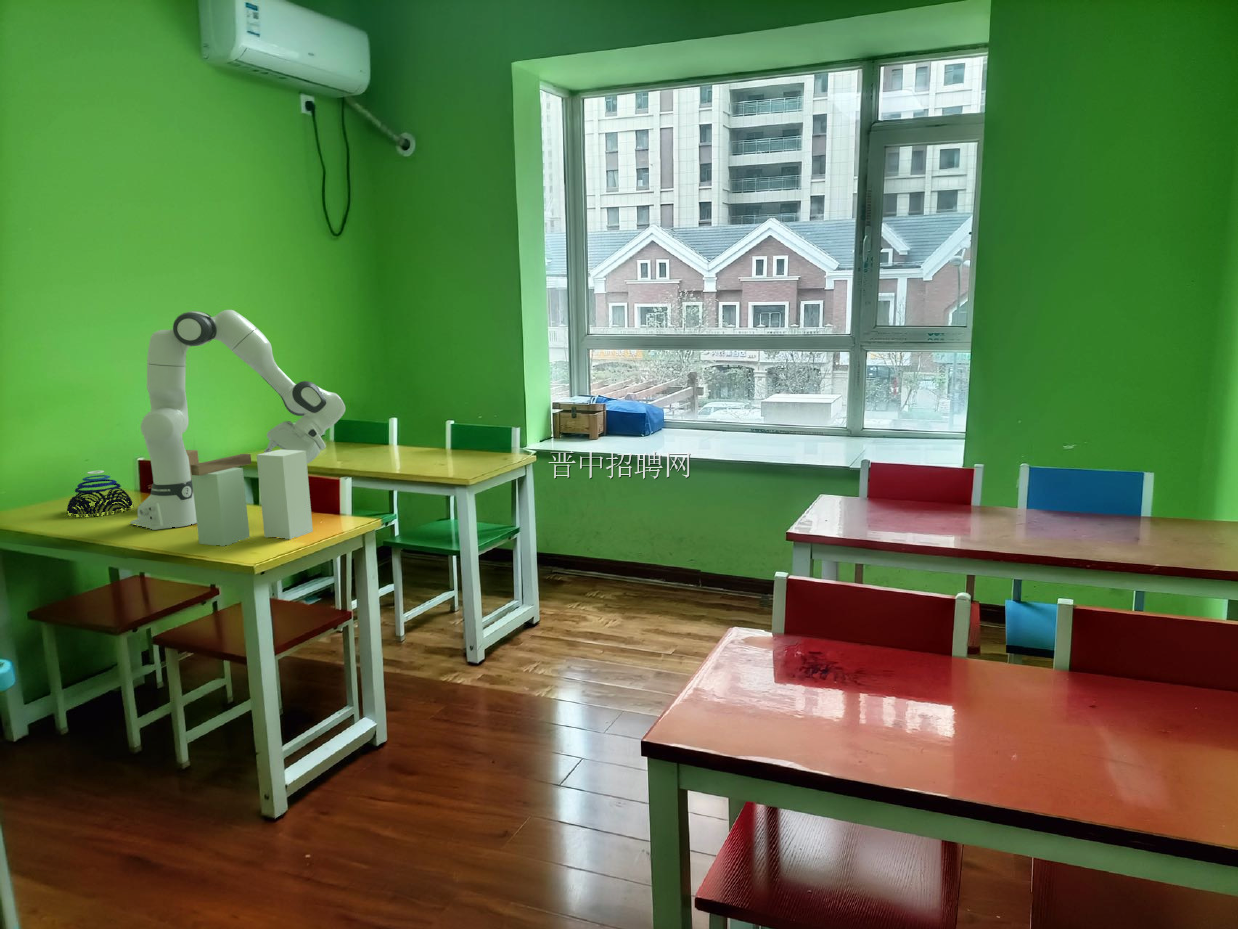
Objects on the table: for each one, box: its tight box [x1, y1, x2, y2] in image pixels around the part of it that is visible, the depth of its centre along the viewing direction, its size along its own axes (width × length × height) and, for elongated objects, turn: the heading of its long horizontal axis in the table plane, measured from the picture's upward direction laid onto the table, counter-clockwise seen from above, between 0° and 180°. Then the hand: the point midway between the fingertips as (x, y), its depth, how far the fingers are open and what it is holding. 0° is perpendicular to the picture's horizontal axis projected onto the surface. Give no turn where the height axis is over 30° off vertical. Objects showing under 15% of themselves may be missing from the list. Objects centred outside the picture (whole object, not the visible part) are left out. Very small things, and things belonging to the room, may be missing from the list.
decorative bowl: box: [66, 470, 133, 515], centre depth 300 cm, size 20×20×14 cm
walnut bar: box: [191, 453, 252, 476], centre depth 256 cm, size 3×20×3 cm, turn 158°
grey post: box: [256, 448, 314, 540], centre depth 262 cm, size 10×10×26 cm
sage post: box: [191, 467, 251, 547], centre depth 257 cm, size 10×10×22 cm
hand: (274, 459), depth 279 cm, fingers open, 8 cm apart
